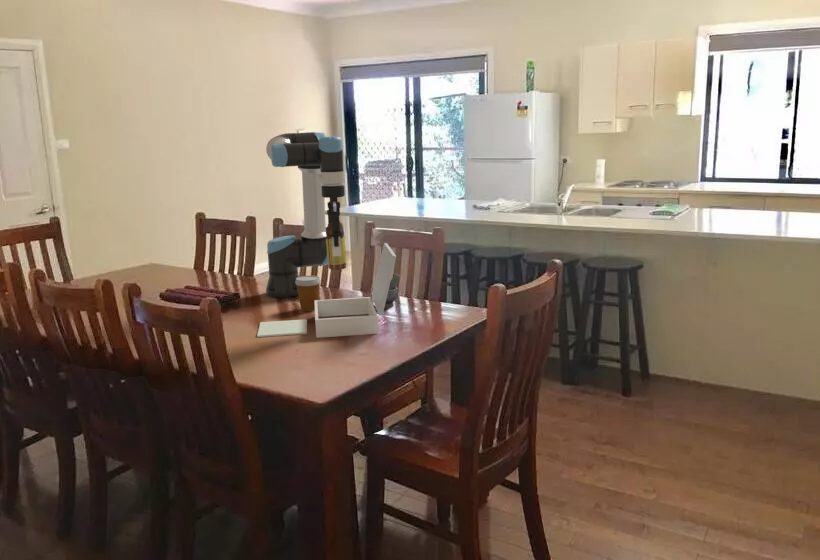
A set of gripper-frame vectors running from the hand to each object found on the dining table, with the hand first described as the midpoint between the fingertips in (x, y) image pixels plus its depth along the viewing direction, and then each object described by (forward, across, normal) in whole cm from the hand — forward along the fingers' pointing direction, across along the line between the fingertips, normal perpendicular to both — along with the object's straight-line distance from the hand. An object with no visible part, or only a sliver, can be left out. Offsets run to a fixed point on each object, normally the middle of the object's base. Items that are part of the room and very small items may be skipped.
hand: (336, 254), depth 230 cm
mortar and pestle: (+25, -22, +19) cm, 38 cm away
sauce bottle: (+5, 0, 0) cm, 5 cm away
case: (+25, 0, +2) cm, 25 cm away
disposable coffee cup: (+25, -24, -10) cm, 36 cm away
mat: (+25, 0, -19) cm, 31 cm away
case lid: (+9, 0, +15) cm, 17 cm away
